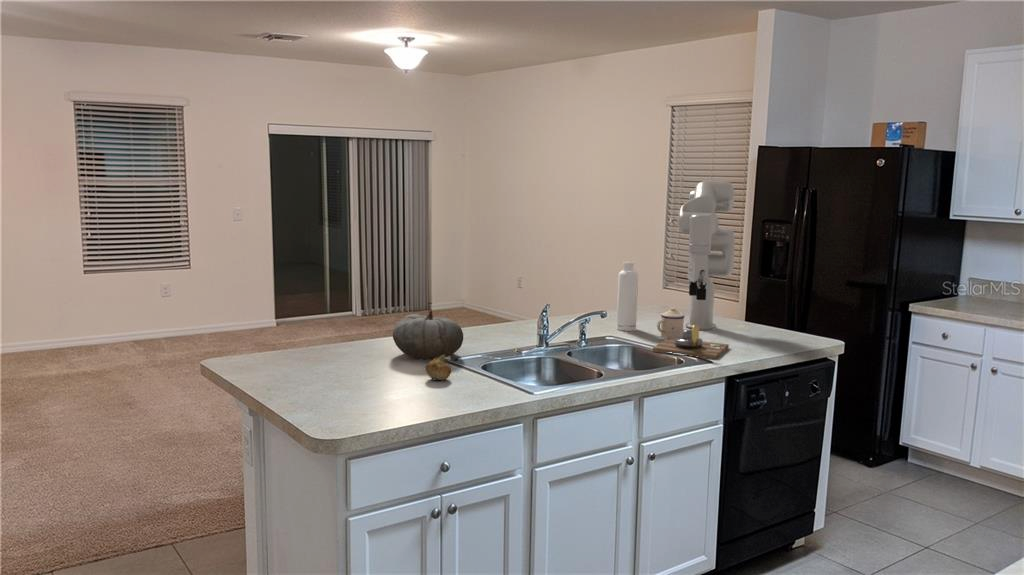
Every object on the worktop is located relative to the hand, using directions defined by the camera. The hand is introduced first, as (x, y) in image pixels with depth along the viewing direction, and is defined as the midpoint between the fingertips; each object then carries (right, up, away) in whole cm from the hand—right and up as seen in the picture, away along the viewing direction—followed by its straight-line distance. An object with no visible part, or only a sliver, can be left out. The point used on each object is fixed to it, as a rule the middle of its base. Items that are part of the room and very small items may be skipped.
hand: (697, 297), depth 281 cm
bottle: (-18, -14, +48) cm, 53 cm away
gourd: (-96, -21, -2) cm, 98 cm away
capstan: (0, -18, +9) cm, 20 cm away
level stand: (+1, -20, +13) cm, 23 cm away
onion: (-89, -26, -32) cm, 98 cm away
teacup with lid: (-3, -16, +34) cm, 38 cm away
